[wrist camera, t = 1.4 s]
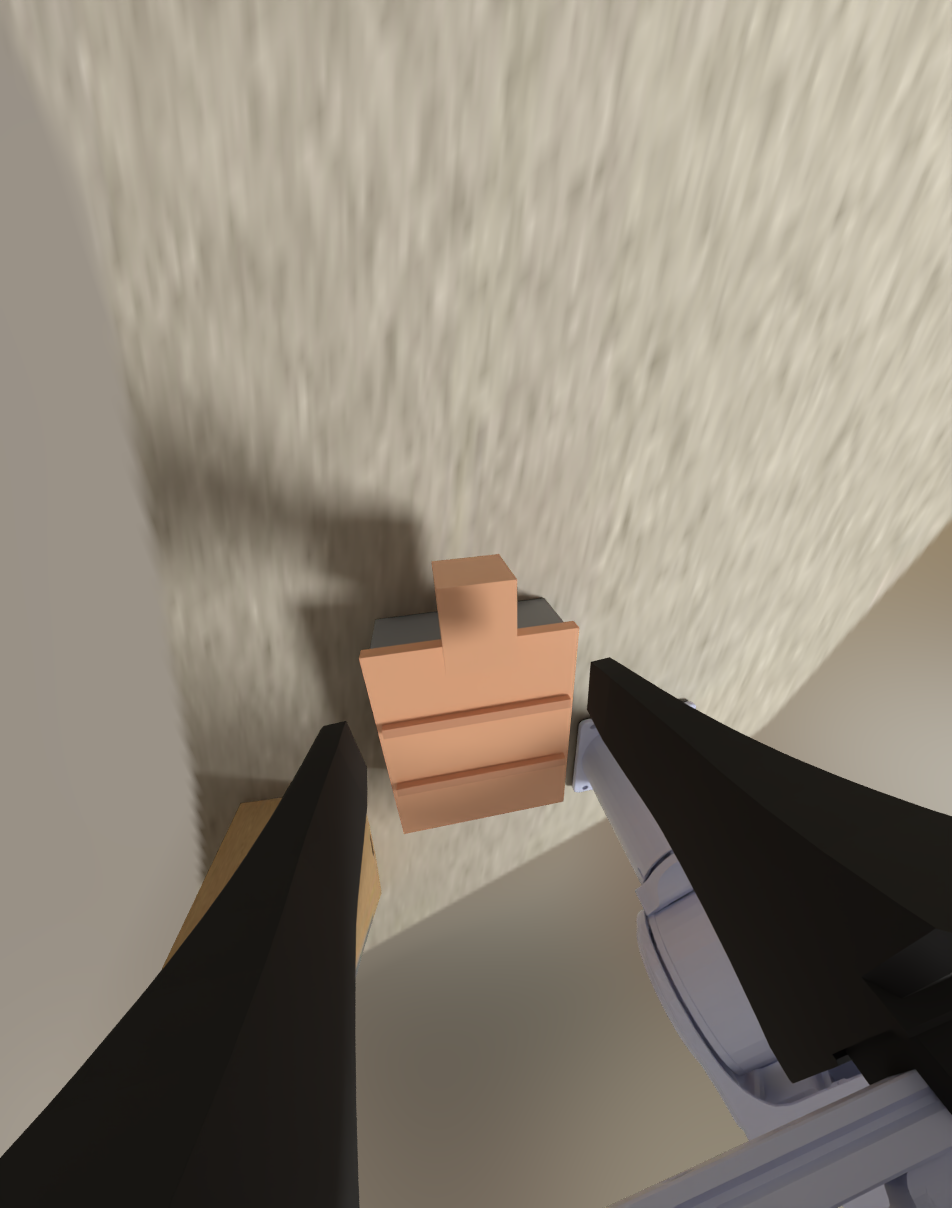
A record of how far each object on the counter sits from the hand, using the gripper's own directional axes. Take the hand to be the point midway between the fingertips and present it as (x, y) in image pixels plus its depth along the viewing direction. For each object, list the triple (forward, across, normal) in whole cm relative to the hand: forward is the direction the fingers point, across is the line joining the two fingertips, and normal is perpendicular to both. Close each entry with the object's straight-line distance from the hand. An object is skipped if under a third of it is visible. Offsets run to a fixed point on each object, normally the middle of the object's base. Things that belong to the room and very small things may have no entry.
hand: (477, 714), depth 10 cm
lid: (+6, -1, +7) cm, 9 cm away
